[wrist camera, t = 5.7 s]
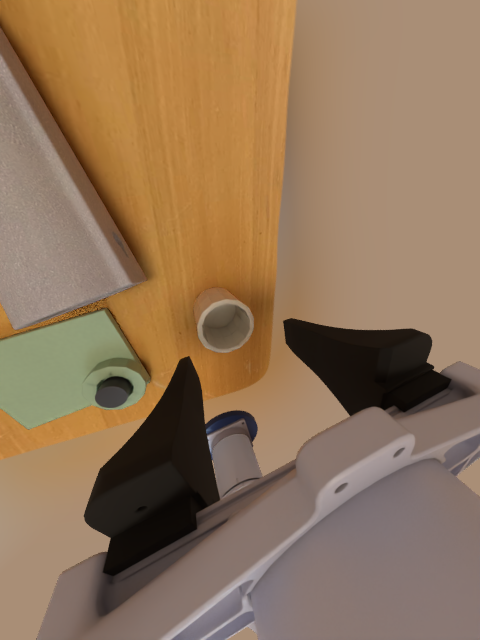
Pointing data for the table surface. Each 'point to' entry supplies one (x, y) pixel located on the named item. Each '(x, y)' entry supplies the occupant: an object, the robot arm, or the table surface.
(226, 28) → the table surface
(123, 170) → the table surface
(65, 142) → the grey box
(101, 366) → the scale
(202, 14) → the table surface
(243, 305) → the cup
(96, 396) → the button
